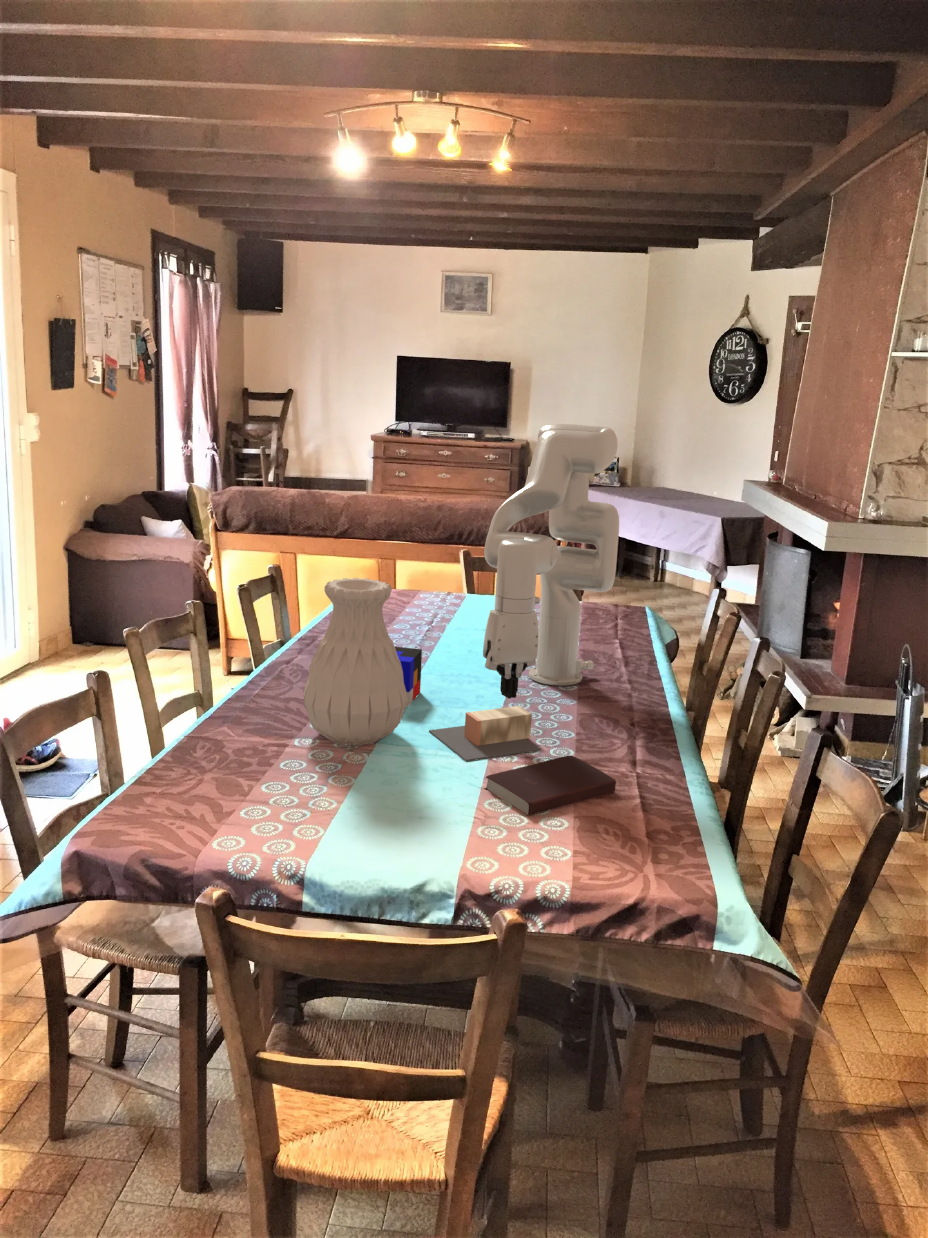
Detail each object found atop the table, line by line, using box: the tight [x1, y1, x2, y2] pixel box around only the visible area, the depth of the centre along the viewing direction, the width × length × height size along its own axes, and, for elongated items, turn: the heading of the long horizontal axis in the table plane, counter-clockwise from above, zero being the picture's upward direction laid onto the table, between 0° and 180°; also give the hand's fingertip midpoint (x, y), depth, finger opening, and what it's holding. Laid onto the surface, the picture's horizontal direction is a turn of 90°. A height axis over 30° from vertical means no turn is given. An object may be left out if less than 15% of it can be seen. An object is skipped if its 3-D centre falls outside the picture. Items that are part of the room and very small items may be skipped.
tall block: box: [464, 705, 533, 746], centre depth 189 cm, size 5×5×12 cm
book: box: [483, 754, 617, 816], centre depth 167 cm, size 12×19×3 cm, turn 125°
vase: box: [302, 577, 408, 747], centre depth 184 cm, size 20×20×30 cm
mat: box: [428, 725, 541, 762], centre depth 189 cm, size 16×16×1 cm
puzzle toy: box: [395, 646, 423, 707], centre depth 210 cm, size 10×10×10 cm
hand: (508, 695), depth 189 cm, fingers closed
